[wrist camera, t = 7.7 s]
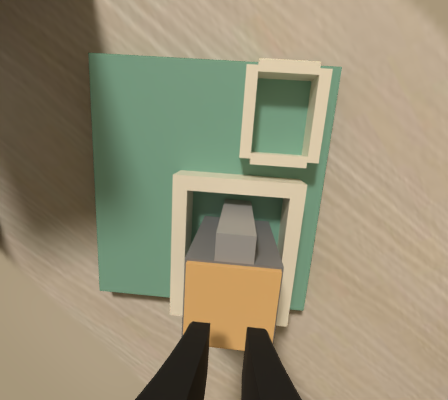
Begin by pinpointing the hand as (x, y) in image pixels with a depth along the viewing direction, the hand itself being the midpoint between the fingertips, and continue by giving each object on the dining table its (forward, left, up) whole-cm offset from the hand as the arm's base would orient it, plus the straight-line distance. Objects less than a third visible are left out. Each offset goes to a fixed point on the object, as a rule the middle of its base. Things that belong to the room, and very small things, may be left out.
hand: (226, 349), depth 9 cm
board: (-2, +4, -9) cm, 10 cm away
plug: (0, 0, -8) cm, 8 cm away
